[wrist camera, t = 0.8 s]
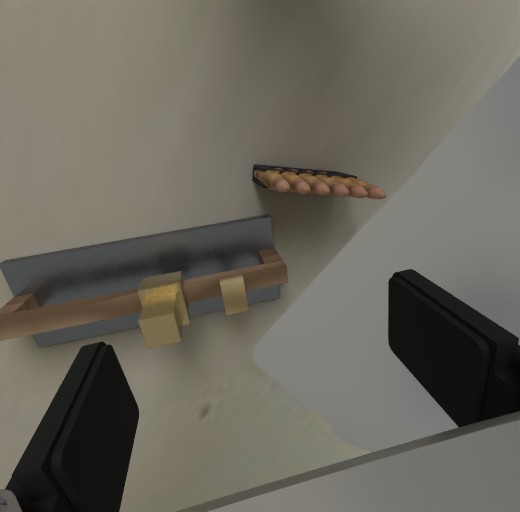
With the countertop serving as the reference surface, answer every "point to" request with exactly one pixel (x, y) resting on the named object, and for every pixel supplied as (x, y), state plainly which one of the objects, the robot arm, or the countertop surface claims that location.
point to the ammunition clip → (314, 182)
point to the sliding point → (163, 309)
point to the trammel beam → (128, 302)
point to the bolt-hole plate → (139, 270)
